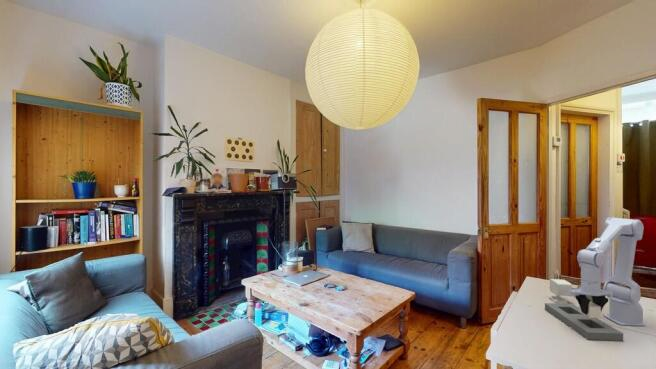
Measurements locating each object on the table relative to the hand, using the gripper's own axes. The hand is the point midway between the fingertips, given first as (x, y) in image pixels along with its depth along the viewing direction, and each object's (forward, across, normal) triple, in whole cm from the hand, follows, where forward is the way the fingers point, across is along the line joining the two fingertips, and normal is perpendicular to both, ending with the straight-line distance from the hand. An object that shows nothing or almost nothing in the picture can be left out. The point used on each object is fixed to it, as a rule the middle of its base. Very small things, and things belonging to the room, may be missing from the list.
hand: (590, 313), depth 108 cm
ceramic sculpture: (+8, -22, -30) cm, 38 cm away
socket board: (+7, 0, -6) cm, 9 cm away
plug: (+2, 0, 0) cm, 2 cm away
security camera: (+7, -7, -27) cm, 29 cm away
